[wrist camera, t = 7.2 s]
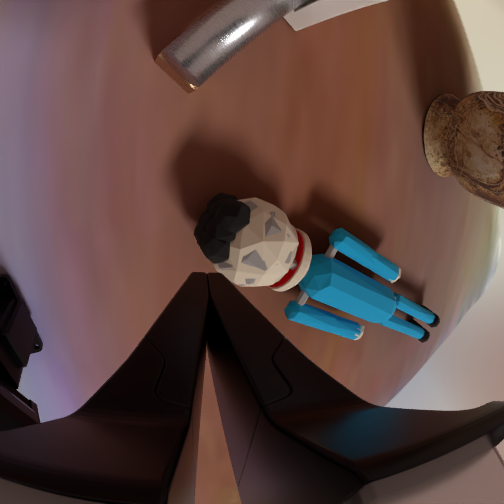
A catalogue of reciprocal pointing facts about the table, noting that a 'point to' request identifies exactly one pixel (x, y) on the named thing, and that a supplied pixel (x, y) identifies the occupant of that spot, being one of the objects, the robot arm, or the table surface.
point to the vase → (468, 142)
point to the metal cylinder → (219, 38)
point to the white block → (323, 11)
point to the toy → (304, 268)
